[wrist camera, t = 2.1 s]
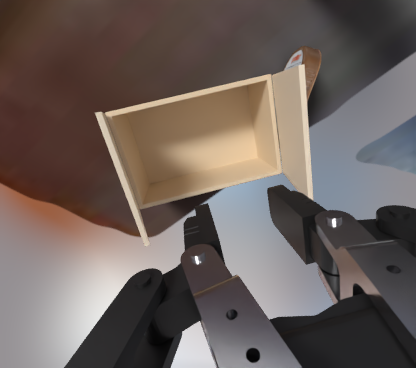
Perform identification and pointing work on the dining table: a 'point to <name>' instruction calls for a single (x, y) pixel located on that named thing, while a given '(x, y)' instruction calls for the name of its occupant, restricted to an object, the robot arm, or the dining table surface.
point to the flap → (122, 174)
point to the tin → (312, 66)
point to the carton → (198, 141)
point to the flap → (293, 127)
